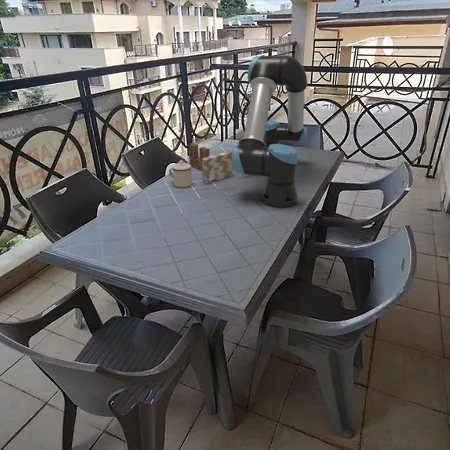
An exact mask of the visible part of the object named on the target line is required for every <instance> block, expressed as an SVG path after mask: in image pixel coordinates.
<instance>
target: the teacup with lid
mask: <svg viewBox="0 0 450 450" xmlns="http://www.w3.org/2000/svg"><path fill="white" fill-rule="evenodd" d="M168 173H169V176H170V178H173V185H174V186H175V187H177V188H187V187H188V188H189V187H190V186H192V184H193V180H192V179H193V177H192V167H191V165H190V163H186V162H184V160H179V162H177V163H175V164H173V165H172V167H171V168H169V170H168Z"/></svg>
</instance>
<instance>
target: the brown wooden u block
mask: <svg viewBox="0 0 450 450" xmlns="http://www.w3.org/2000/svg"><path fill="white" fill-rule="evenodd" d="M187 147H188V159H189V163H188V164H190V165H191V166H192V167H191V168H194V169H196V168H197V170H198V171H201V172H203V169H202V158H205V157H209V156H211V155H210V148H208V147H205V146H202V147H201V146H200V147H199V144H197V143H194V142H191V143H189V144H188V145H187Z"/></svg>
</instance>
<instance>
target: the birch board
mask: <svg viewBox="0 0 450 450" xmlns="http://www.w3.org/2000/svg"><path fill="white" fill-rule="evenodd" d="M202 169H203V171H202V183H204V184H206V185H207V184H210V183H211V169H213V175H214V176H213V179H214V180H216V181H220V180H223V179H227V178H230V177H233V176H234V168H233V163H232V151H230V150H227V151H225V152H222V153H217V154H214V155H210V156H209V157H205V158H202Z"/></svg>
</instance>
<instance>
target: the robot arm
mask: <svg viewBox="0 0 450 450" xmlns="http://www.w3.org/2000/svg"><path fill="white" fill-rule="evenodd" d="M247 70H248V73H247V81H248V84H249V86H250V88H251V90H252V91H251V95H250V101H249V102H250V103H249V106H248V112H247V117H246V122H245V127H244V133H243V137H242V138H240V139H239V141H238V145H237V144H236V145H233V148H232V151H231V152H232V163H233V171H234V172H235V173H236V174H240V175H244V176H245V175H247V176H258V177H259V176H260V177H266V184H265V186H264V189H263V191H262V193H261V201H262V202H263V203H264V204H265V205H267V206H270V207H273V208H289V207H290V208H291V207H292V206H294V205H296V204H297V203H298V192H297V188H296V175H297V164H298V151H297V150H296V149H295V148H294V147H292V146H290V145H286V144H281V143H280V142H279V141H284V142H285V141H286V142H297V143H300V142H301V143H303V142H306V140H307V136H308V127H305V126H304V116H305V115H304V112H305V90H306V89H307V88H308V77H307V76H308V75H307V73H306V71H305V69H304V67H303V65H302V63H300V61H299V60H298V59H297V58H295V57H293V56H291V55H290V56H289V55H264V54H261V55H256V56H253V57H252V59H251V60H250V62H249V66H248V69H247ZM277 86H285V90H286V92H287V122H288V123H287V126H286V125H280V124H281V123H280V122H279V120H278V121H277V120H269V121H268V116H269V112H270V107H271V105H270V104H271V101H272V96H273V95H272V94H273V93H274V92H275V91H277V90H276V89H277Z"/></svg>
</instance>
